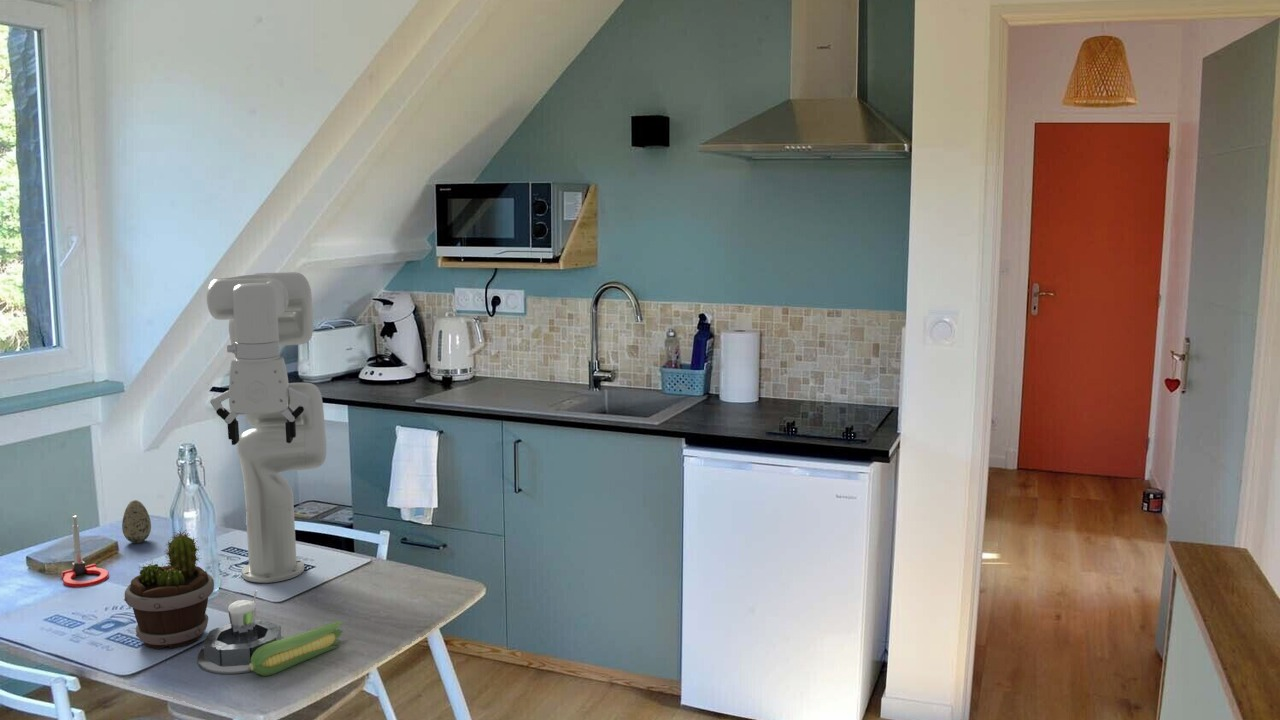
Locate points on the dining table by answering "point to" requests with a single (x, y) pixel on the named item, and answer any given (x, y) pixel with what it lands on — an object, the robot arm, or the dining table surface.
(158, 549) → the dining table surface
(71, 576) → the tow hook
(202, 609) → the flowerpot
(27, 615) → the dining table surface
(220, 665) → the collar
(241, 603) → the milkshake
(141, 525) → the decorative egg
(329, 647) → the edible corn
